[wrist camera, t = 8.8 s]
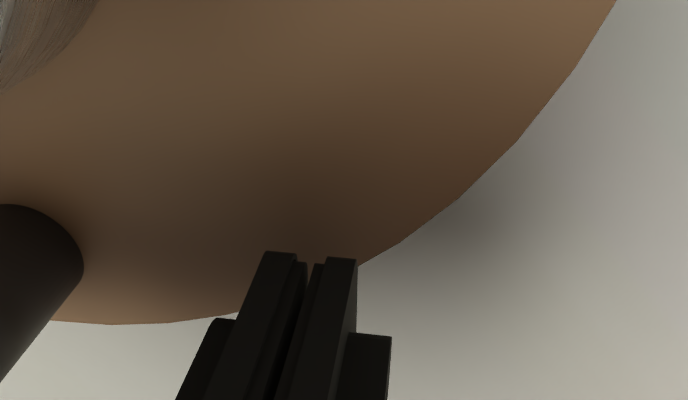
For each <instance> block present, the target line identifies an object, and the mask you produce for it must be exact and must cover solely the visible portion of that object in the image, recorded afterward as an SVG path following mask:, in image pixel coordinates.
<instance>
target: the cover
mask: <svg viewBox="0 0 688 400" xmlns="http://www.w3.org/2000/svg"><path fill="white" fill-rule="evenodd" d="M97 2H98V0H0V95H1V94H3V93H4V92H6V91H8V90H9V89H11V88H12V87H14V86H16V85H17V84H19V83H20V82H22V81H24V80H25V79H27V78H29V77H30V76H32V75H33V74H35V73H37V72H38V71H39V70H40V69H42V68H43V67H44V66H45V65H47V64H48V63H49V62H50V61H51V60H53V59H54V58H55V57H56V56H58V55H59V54H60V53H61V52H62V51H63V50H64V49H65V47H66V46H67V45H68V44H69V43H70V42H71V40H72V39H73V38H74V37H75V36H76V35H77V33H78V32H79V31H80V30H81V29H82V27H83V26H84V24H85V22H86V21H87V19H88V17H89V16H90V14H91V12H92V10H93V9H94V7H95V5H96V4H97Z"/></svg>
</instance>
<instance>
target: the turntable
mask: <svg viewBox="0 0 688 400" xmlns="http://www.w3.org/2000/svg"><path fill="white" fill-rule="evenodd" d="M615 2H616V0H98V2H97V4H96V5H95V7H94V9H93V10H92V12H91V14H90V16H89V17H88V19H87V21H86V22H85V24H84V26H83V27H82V29H81V30H80V31H79V32H78V33H77V35H76V36H75V37H74V38H73V39H72V40H71V42H70V43H69V44H68V45H67V46H66V47H65V49H64V50H63V51H62V52H61V53H60V54H59V55H58V56H56V57H55V58H54V59H53V60H51V61H50V62H49V63H48V64H47V65H45V66H44V67H43V68H42V69H40V70H39V71H38V72H37V73H35V74H33V75H32V76H30V77H29V78H27V79H25V80H24V81H22V82H20V83H19V84H17V85H16V86H14V87H12V88H11V89H9V90H8V91H6V92H4V93H3V94H1V95H0V382H1V381H2V380H3V378H4V377H5V376H6V375H7V373H8V372H9V371H10V370H11V368H12V367H13V366H14V365H15V363H16V362H17V361H18V360H19V358H20V357H21V356H22V354H23V353H24V352H25V351H26V349H27V348H28V347H29V346H30V344H31V343H32V342H33V341H34V339H35V338H36V337H37V335H38V334H39V333H40V332H41V330H42V329H43V328H44V327H45V325H46V324H47V323H48V322H49V320H52V321H65V322H79V323H92V324H106V325H122V324H154V323H172V322H179V321H186V320H193V319H200V318H207V317H214V316H220V315H227V314H231V313H234V312H238V311H240V309H241V306H242V304H243V302H244V299H245V297H246V295H247V292H248V290H249V287H250V285H251V283H252V280H253V278H254V276H255V273H256V271H257V268H258V266H259V264H260V261H261V259H262V256H263V254H264V253H265V251H278V252H288V253H296V254H297V258H298V261H299V262H306V263H307V267H308V283H309V280H310V276H311V273H312V270H313V266H314V264H315V263H320V264H325V261H326V258H327V256H331V257H341V258H352V259H357V262H358V266H359V265H361V264H363V263H364V262H366V261H368V260H370V259H372V258H373V257H375V256H377V255H379V254H380V253H382V252H384V251H386V250H387V249H389V248H391V247H393V246H394V245H396V244H398V243H400V242H401V241H402V240H404V239H405V238H406V237H408V236H409V235H410V234H412V233H413V232H414V231H416V230H417V229H418V228H420V227H421V226H422V225H424V224H425V223H426V222H428V221H429V220H430V219H432V218H433V217H434V216H435V215H437V214H438V213H439V212H441V211H442V210H443V209H445V208H446V207H447V206H449V205H450V204H451V203H453V202H454V201H455V200H457V199H458V198H459V197H460V196H461V195H462V194H463V193H464V192H465V191H466V190H467V189H468V188H469V187H470V186H471V185H472V184H473V183H474V182H475V181H476V180H477V179H478V178H479V177H481V176H482V175H483V174H484V173H485V172H486V171H487V170H488V169H489V168H490V167H491V166H492V165H493V164H494V163H495V162H496V161H497V160H498V159H499V158H500V157H501V156H502V155H503V154H504V153H505V152H506V151H507V150H508V149H509V148H510V147H511V146H512V145H513V144H514V143H515V142H516V141H517V140H518V139H519V138H520V136H521V135H522V134H523V132H524V131H525V130H526V129H527V127H528V126H529V125H530V124H531V122H532V121H533V120H534V119H535V117H536V116H537V115H538V114H539V112H540V111H541V110H542V109H543V107H544V106H545V105H546V104H547V102H548V101H549V100H550V99H551V97H552V96H553V95H554V93H555V92H556V91H557V90H558V88H559V87H560V86H561V85H562V83H563V82H564V81H565V80H566V78H567V77H568V76H569V75H570V73H571V72H572V71H573V70H574V68H575V67H576V65H577V64H578V62H579V60H580V59H581V57H582V55H583V54H584V52H585V51H586V49H587V47H588V46H589V44H590V42H591V41H592V39H593V38H594V36H595V34H596V33H597V31H598V30H599V28H600V26H601V25H602V23H603V21H604V20H605V18H606V17H607V15H608V13H609V12H610V10H611V8H612V7H613V5H614V4H615Z"/></svg>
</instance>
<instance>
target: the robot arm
mask: <svg viewBox="0 0 688 400" xmlns="http://www.w3.org/2000/svg"><path fill="white" fill-rule="evenodd" d="M357 273H358V262H357V259H352V258H341V257H331V256H327V258H326V261H325V264H320V263H315V264H314V266H313V270H312V273H311V276H310V280H309V283H308V267H307V263H306V262H299V261H298V258H297V254H296V253H288V252H278V251H265V253H264V254H263V256H262V259H261V261H260V264H259V266H258V268H257V271H256V273H255V276H254V278H253V280H252V283H251V285H250V287H249V290H248V292H247V295H246V297H245V299H244V302H243V304H242V306H241V309H240V311H239V314H238V316H237V318H236V320H234V319H225V318H216V319H214V320H213V321H212V323H211V325H210V326H209V328H208V330H207V332H206V335H205V337H204V339H203V341H202V343H201V345H200V347H199V350H198V352H197V354H196V356H195V358H194V360H193V362H192V365H191V367H190V369H189V371H188V373H187V375H186V377H185V380H184V382H183V384H182V386H181V388H180V390H179V392H178V395H177V397H176V399H175V400H387V397H388V385H389V373H390V360H391V345H392V337H390V336H381V335H372V334H363V333H356V317H357Z"/></svg>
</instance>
